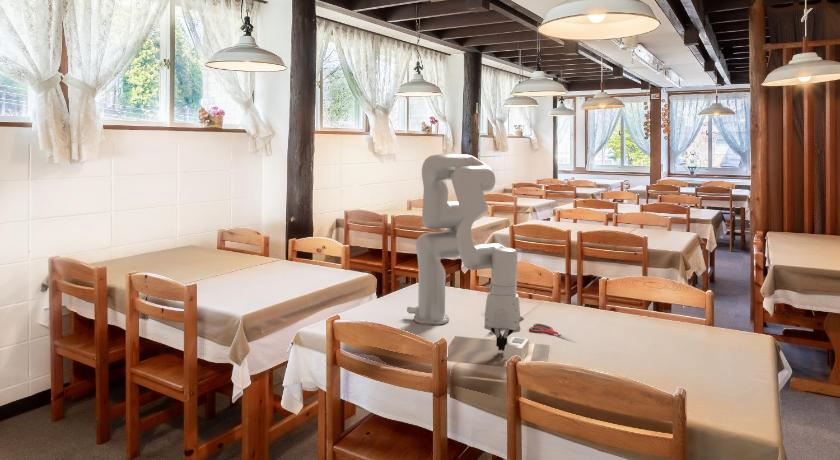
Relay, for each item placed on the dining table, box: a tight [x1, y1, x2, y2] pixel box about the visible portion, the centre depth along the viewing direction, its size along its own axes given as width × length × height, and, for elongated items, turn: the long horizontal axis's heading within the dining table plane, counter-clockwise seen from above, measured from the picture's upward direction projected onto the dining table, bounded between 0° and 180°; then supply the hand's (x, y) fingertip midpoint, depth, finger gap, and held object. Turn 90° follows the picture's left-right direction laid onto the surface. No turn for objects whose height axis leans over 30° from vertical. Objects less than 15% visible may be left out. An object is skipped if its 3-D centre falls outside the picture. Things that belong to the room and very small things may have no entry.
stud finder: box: [505, 336, 530, 360], centre depth 173 cm, size 5×9×4 cm, turn 157°
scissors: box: [528, 323, 577, 344], centre depth 194 cm, size 8×21×2 cm, turn 45°
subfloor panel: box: [446, 335, 550, 368], centre depth 176 cm, size 30×22×1 cm
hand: (501, 349), depth 176 cm, fingers closed
